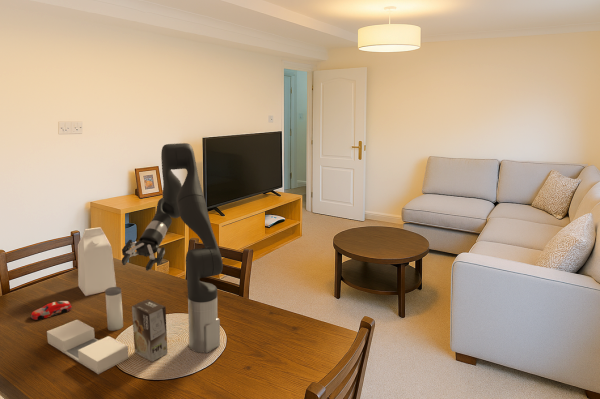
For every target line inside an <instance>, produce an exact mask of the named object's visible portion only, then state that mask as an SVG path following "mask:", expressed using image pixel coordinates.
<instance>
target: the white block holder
mask: <svg viewBox="0 0 600 399" xmlns="http://www.w3.org/2000/svg"><path fill="white" fill-rule="evenodd" d="M46 336H47V337H46V338H47V343H48V344H49V345H51V346H52V347H54V348H55V349H56V350H58V351H61V352H62V353H63V354H65V355H67V356H68V357H69V358H71V359H73V360H74V361H76V362H77V363H79V364H81V365H82V366H84V367H86V368H88V370H91V371H93V372H94V373H96V374H97V375H100V374H102V373H104V372H105V371H107V370H109V369H111V368H113V367H114V366H116V365H119V364H120V363H122V362H125V361H126V360H127V359H129V346H128V345H127V344H125V343H123V342H121V341H118V340H117V339H116V338H113V337H111V336H109V335H108V336H106V337H104V338H100V339H97V338H95V328H94V327H92V326H90V325H89V324H86V323H85V322H82V321H81V320H80V319H75V320H72V321H70V322H67V323H65V324H63V325H60V326H57V327H55V328H52V329H49V330H47V331H46Z"/></svg>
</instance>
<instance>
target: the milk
mask: <svg viewBox="0 0 600 399" xmlns="http://www.w3.org/2000/svg"><path fill="white" fill-rule="evenodd" d="M114 264H115V263H114V257H113V249H112V245H111V243H110V241H109V239H108V238H107V236H106V234H105V232H104V230H103V229H102V227H101V226H100V227H93V228H85V229H84V232H83V234H82V237H81V238H80V240H79V242H78V244H77V271H78V272H77V273H78V275H77V277H78V282H77V283H78V288H79V289H80V290H81V292H82V293H83V294H84V296H85V297H87V296H92V295H95V294H99V293H103V292H105V290H106V289H108V288H111V287H117V283H116V282H117V281H116V274H115V265H114Z"/></svg>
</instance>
